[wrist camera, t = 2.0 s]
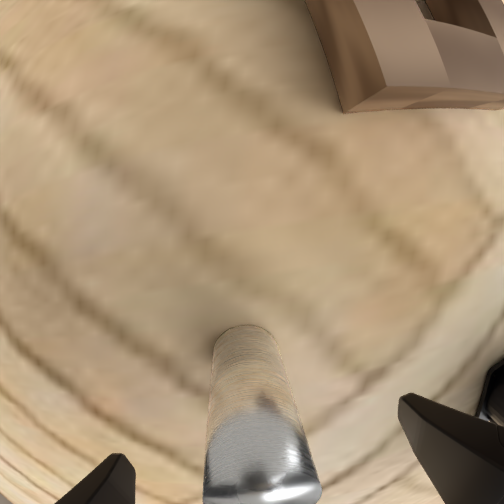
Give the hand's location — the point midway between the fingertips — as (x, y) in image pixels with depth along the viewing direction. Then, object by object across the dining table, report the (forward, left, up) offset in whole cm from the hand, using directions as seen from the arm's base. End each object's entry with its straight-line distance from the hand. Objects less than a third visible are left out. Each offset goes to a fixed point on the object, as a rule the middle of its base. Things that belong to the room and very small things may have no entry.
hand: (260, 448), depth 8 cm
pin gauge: (0, 0, -6) cm, 6 cm away
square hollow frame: (+15, -12, -6) cm, 20 cm away
